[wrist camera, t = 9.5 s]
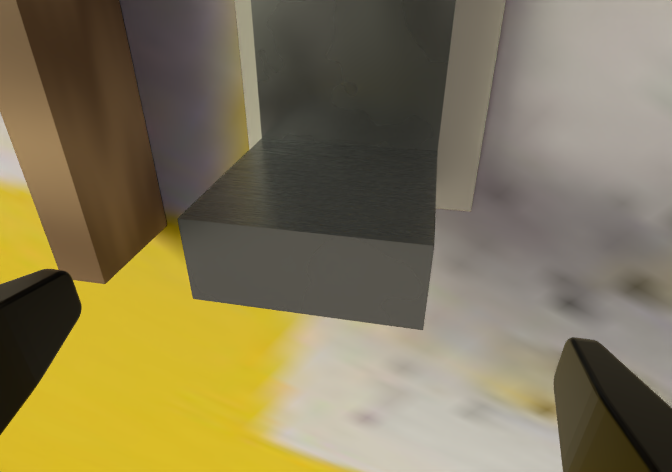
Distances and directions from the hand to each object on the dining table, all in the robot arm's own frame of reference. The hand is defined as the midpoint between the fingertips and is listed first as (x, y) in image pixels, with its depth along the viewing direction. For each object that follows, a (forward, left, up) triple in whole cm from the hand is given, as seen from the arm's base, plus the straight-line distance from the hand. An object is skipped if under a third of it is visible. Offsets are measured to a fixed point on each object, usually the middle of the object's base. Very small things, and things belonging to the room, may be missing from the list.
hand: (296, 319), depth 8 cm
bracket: (-3, 0, -8) cm, 9 cm away
